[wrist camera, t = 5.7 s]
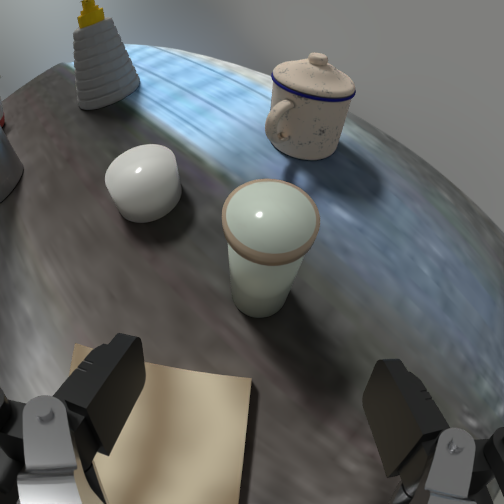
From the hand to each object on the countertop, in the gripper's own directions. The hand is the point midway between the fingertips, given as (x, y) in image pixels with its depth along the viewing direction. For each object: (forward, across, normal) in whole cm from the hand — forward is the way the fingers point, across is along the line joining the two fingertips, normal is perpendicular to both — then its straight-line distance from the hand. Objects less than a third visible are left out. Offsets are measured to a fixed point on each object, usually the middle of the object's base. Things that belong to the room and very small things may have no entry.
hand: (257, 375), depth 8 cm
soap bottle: (+38, +30, -21) cm, 52 cm away
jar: (+13, 0, +3) cm, 14 cm away
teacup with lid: (+27, -3, -10) cm, 29 cm away
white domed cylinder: (+20, +12, -4) cm, 23 cm away
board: (+4, +7, +13) cm, 15 cm away
